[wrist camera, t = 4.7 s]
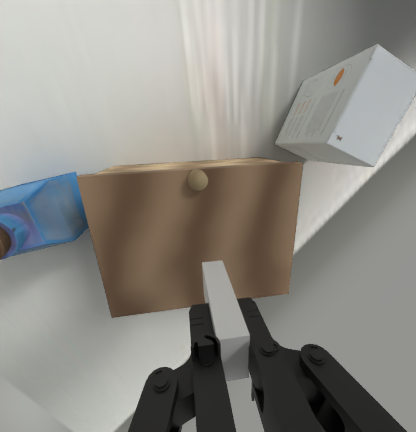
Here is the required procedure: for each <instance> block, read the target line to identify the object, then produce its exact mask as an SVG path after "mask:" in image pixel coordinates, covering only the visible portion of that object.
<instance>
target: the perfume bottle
mask: <svg viewBox="0 0 416 432" xmlns="http://www.w3.org/2000/svg"><path fill="white" fill-rule="evenodd" d="M76 177H77V174H76V172H73V173H69V174H65V175H60V176H56V177H52V178H47V179H43V180H39V181H34V182H30V183H26V184H21V185H18V186H14V187H11V188H7V189H4V190H0V260H1V259H5V258H8V257H10V256H14V255H18V254H22V253H26V252H30V251H34V250H38V249H42V248H46V247H50V246H54V245H58V244H62V243H66V242H70V241H74V240H76V239H77V238H78V237H79V236H80V235H81V234H82V233H83V232H84V231H85V230H86V229H87V228H88V227H89V226H88V222H87V218H86V214H85V210H84V206H83V202H82V198H81V194H80V190H79V186H78V182H77V178H76Z"/></svg>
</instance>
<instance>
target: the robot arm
mask: <svg viewBox="0 0 416 432" xmlns="http://www.w3.org/2000/svg"><path fill="white" fill-rule="evenodd" d="M202 271H203V288H204V297H205V303H204V304H196V305H192V306H191V309H190V311H189V318H190V334H191V355H190V358H189V359H188V361H187V362H186V363H185V364H184V365H182V366H180V367H179V368H177V369H175V370H172V369H171V368H168V367H162V368H158V369H156V370H154V371H153V372H152V373H151V374H150V375H149V377H148V379H147V380H146V383H145V386H144V388H143V391H142V394H141V397H140V400H139V402H138V405H137V408H136V411H135V414H134V416H133V419H132V422H131V425H130V428H129V430H128V432H181V429H182V425H183V424H184V423H186V422H187V421H189V420H190V419H192V418H194V417H195V416H196V427H197V432H236V428H235V424H234V419H233V414H232V409H231V404H230V399H229V394H228V389H227V384H226V381H230V380H236V379H242V378H248V377H249V372H250V375H251V379H252V393H251V396H252V401H254V397H255V401H256V404H257V407H258V411H259V414H260V418H261V421H262V424H263V428H264V431H265V432H407V431H406V430H405V429H404V428H403V427H402V426H401V425H400V424H399V423H398V422H397V421H396V420H395V419H393V417H392V416H391V415H390V414H389V413H388V412H387V411H386V410H385V409H384V408H383V407H382V406H381V405H380V404H379V403H378V402H377V401H376V400H375V399H374V398H373V397H372V396H371V395H370V394H369V393H368V392H367V391H366V390H365V389H364V388H363V387H362V386H361V385H360V384H359V383H358V382H357V381H356V380H355V379H354V378H353V377H352V376H351V375H350V374H349V373H348V372H347V371H346V370H345V369H344V368H343V367H342V366H341V365H340V364H339V363H338V362H337V361H336V360H335V359H334V358H333V357H332V356H331V355H330V354H329V353H328V352H327V351H326V350H324V348H322V347H320V346H318V345H314V344H308V345H304V346H303V347H302V348H301V351H298V350H292V349H287V348H284V347H282V346H280V345H279V344H278V343H277V342H276V341H275V340H273V338H272V337H271V335H270V333H269V331H268V328H267V326H266V324H265V322H264V320H263V318H262V316H261V314H260V312H259V310H258V307H257V305H256V303H255V302H254V301H253V300H252V299H251V298H250V297H247V298H239V299H236V296H235V293H234V291H233V288H232V285H231V282H230V280H229V277H228V274H227V271H226V269H225V266H224V263H223V261H222V260H220V261H211V262H202Z"/></svg>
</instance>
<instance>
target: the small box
mask: <svg viewBox="0 0 416 432" xmlns="http://www.w3.org/2000/svg"><path fill="white" fill-rule="evenodd" d="M415 95H416V71H415V70H414V69H412V68H411V67H409V66H408V65H407V64H405V63H404V62H402V61H401V60H400V59H398V58H397V57H395V56H394V55H393V54H391V53H390V52H388V51H387V50H386V49H384V48H383V47H382V46H380V45H379V44H376V45H374V46H372V47H370V48H368V49H366V50H364V51H362V52H360V53H358V54H356V55H354V56H352V57H350V58H348V59H346V60H344V61H342V62H340V63H338V64H336V65H334V66H332V67H330V68H328V69H326V70H324V71H322V72H320V73H318V74H316V75H314V76H312V77H310V78H308V79H306V80H304V81H303V83H302V85H301V87H300V89H299V92H298V94H297V96H296V98H295V100H294V102H293V105H292V107H291V109H290V111H289V113H288V116H287V118H286V120H285V122H284V124H283V127H282V129H281V131H280V133H279V135H278V137H277V140H276V142H275V145H278V146H280V147H282V148H284V149H286V150H288V151H290V152H292V153H294V154H296V155H298V156H301V157H303V158H305V159H307V160H310V161H319V162H329V163H338V164H348V165H356V166H366V167H374V166H375V164H376V162H377V161H378V159H379V157H380V155H381V154H382V152H383V150H384V149H385V147H386V145H387V143H388V142H389V140H390V138H391V136H392V135H393V133H394V131H395V130H396V128H397V126H398V124H399V123H400V121H401V119H402V117H403V116H404V114H405V112H406V111H407V109H408V107H409V105H410V104H411V102H412V100H413V99H414V97H415Z"/></svg>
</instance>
